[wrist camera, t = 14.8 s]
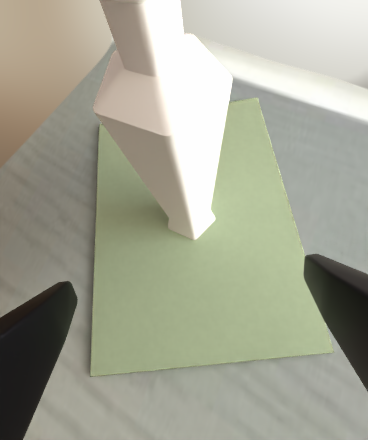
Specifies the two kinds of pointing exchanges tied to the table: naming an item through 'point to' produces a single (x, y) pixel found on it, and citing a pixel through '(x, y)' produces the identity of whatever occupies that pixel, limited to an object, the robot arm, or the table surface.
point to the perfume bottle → (165, 108)
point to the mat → (201, 265)
